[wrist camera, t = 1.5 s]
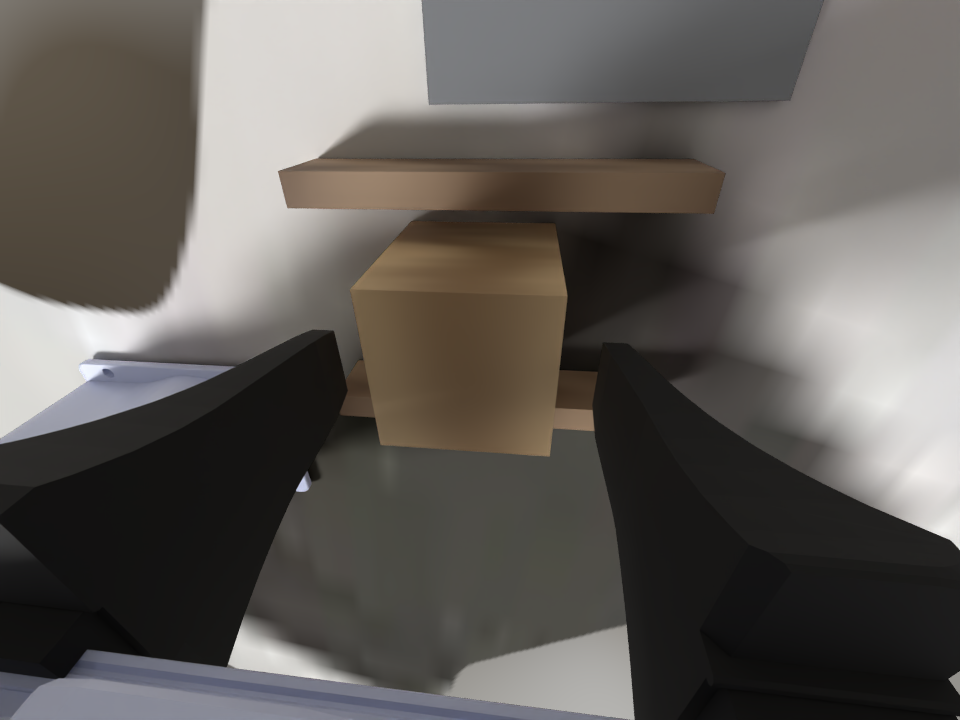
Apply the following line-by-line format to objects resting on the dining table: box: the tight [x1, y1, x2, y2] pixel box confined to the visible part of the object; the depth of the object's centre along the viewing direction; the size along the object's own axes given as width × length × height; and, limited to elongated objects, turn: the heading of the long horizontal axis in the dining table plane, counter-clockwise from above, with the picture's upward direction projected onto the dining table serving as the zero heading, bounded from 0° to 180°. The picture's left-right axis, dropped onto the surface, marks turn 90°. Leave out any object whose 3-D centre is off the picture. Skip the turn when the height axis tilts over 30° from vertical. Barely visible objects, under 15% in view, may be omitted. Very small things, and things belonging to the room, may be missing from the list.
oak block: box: [350, 221, 568, 456], centre depth 13 cm, size 5×5×6 cm
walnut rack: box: [278, 159, 725, 431], centre depth 15 cm, size 12×9×2 cm
